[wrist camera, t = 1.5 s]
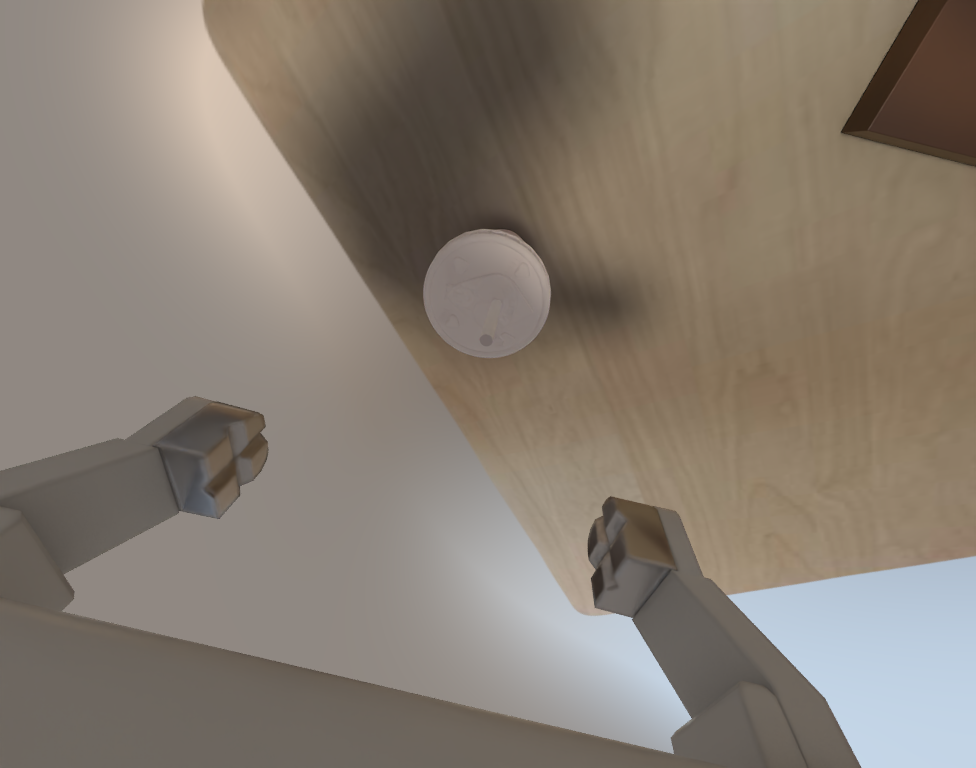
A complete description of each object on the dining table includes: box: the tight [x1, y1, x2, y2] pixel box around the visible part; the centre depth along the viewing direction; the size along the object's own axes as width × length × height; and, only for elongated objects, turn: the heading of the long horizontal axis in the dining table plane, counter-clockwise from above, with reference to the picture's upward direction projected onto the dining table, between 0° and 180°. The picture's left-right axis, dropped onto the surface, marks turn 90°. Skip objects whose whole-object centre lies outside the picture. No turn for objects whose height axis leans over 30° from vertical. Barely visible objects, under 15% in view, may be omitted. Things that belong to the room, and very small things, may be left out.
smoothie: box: [423, 229, 551, 358], centre depth 21 cm, size 6×6×14 cm
